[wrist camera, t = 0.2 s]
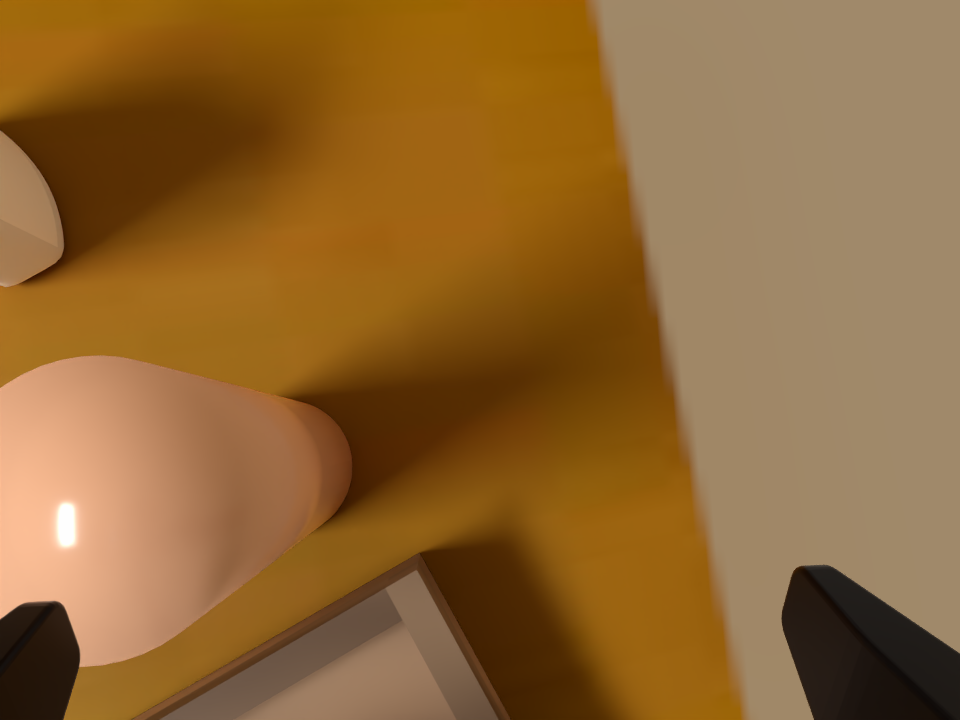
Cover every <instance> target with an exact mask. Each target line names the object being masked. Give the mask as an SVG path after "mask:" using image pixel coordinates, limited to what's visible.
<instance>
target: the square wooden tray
mask: <svg viewBox="0 0 960 720" xmlns="http://www.w3.org/2000/svg"><path fill="white" fill-rule="evenodd" d="M132 720H511V719H510V717H509V715H508V714H507V712H506V710H505V708H504V706H503V704H502V703H501V701H500V699H499V697H498V695H497V693H496V692H495V690H494V688H493V686H492V684H491V682H490V681H489V679H488V677H487V675H486V673H485V671H484V670H483V668H482V666H481V664H480V662H479V660H478V659H477V657H476V655H475V653H474V651H473V649H472V648H471V646H470V644H469V642H468V640H467V639H466V637H465V635H464V633H463V631H462V629H461V628H460V626H459V624H458V622H457V620H456V618H455V617H454V615H453V613H452V611H451V609H450V607H449V606H448V604H447V602H446V600H445V598H444V596H443V595H442V593H441V591H440V589H439V587H438V585H437V584H436V582H435V580H434V578H433V576H432V574H431V573H430V571H429V569H428V567H427V565H426V563H425V562H424V560H423V558H422V556H421V554H420V553H418V554H417V555H415V556H413V557H411V558H410V559H408V560H406V561H404V562H403V563H401V564H399V565H398V566H396V567H394V568H392V569H391V570H389V571H387V572H385V573H384V574H382V575H380V576H379V577H377V578H375V579H373V580H372V581H370V582H368V583H366V584H365V585H363V586H361V587H360V588H358V589H356V590H354V591H353V592H351V593H349V594H348V595H346V596H344V597H342V598H341V599H339V600H337V601H335V602H334V603H332V604H330V605H329V606H327V607H325V608H323V609H322V610H320V611H318V612H316V613H315V614H313V615H311V616H310V617H308V618H306V619H304V620H303V621H301V622H299V623H298V624H296V625H294V626H292V627H291V628H289V629H287V630H285V631H284V632H282V633H280V634H279V635H277V636H275V637H273V638H272V639H270V640H268V641H266V642H265V643H263V644H261V645H260V646H258V647H256V648H254V649H253V650H251V651H249V652H247V653H246V654H244V655H242V656H241V657H239V658H237V659H235V660H234V661H232V662H230V663H229V664H227V665H225V666H223V667H222V668H220V669H218V670H216V671H215V672H213V673H211V674H210V675H208V676H206V677H204V678H203V679H201V680H199V681H197V682H196V683H194V684H192V685H191V686H189V687H187V688H185V689H184V690H182V691H180V692H179V693H177V694H175V695H173V696H172V697H170V698H168V699H166V700H165V701H163V702H161V703H160V704H158V705H156V706H154V707H153V708H151V709H149V710H147V711H146V712H144V713H142V714H141V715H139V716H137V717H135V718H134V719H132Z"/></svg>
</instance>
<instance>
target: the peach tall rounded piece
mask: <svg viewBox="0 0 960 720" xmlns="http://www.w3.org/2000/svg"><path fill="white" fill-rule="evenodd" d="M352 469H353V467H352V455H351V450H350V447H349V444H348V441H347V439H346V437H345V435H344V433H343V432H342V430H341V428H340V427H339V426H338V424H337V423H336V422H335V421H334V420H333V419H332V418H331V417H330V416H329V415H328V414H326V413H325V412H323V411H322V410H320V409H318V408H317V407H315V406H313V405H310V404H307V403H304V402H300V401H296V400H292V399H288V398H284V397H280V396H277V395H273V394H269V393H265V392H261V391H257V390H253V389H249V388H245V387H241V386H237V385H233V384H229V383H225V382H221V381H217V380H213V379H209V378H205V377H201V376H197V375H193V374H189V373H185V372H181V371H177V370H173V369H169V368H165V367H161V366H157V365H153V364H149V363H145V362H141V361H137V360H132V359H127V358H123V357H112V356H83V357H76V358H70V359H64V360H60V361H56V362H53V363H50V364H47V365H43V366H40V367H38V368H36V369H34V370H31V371H29V372H27V373H25V374H23V375H21V376H19V377H18V378H16V379H14V380H12V381H11V382H9V383H7V384H6V385H4V386H3V387H2V388H0V619H1V618H2V617H4V616H5V615H6V614H8V613H9V612H10V611H12V610H13V609H14V608H16V607H17V606H19V605H21V604H23V603H26V602H37V601H58V602H60V603H61V604H63V605H64V607H65V609H66V611H67V614H68V617H69V620H70V622H71V625H72V628H73V631H74V633H75V636H76V639H77V642H78V644H79V648H80V665H79V667H84V666H97V665H105V664H110V663H115V662H120V661H124V660H127V659H130V658H133V657H136V656H139V655H141V654H144V653H146V652H148V651H150V650H152V649H154V648H156V647H158V646H160V645H162V644H164V643H165V642H167V641H168V640H170V639H171V638H173V637H174V636H176V635H177V634H179V633H180V632H182V631H183V630H184V629H186V628H187V627H188V626H190V625H191V624H192V623H194V622H195V621H196V620H198V619H199V618H200V617H201V616H203V615H204V614H205V613H207V612H208V611H209V610H211V609H212V608H213V607H215V606H216V605H217V604H219V603H220V602H221V601H223V600H224V599H225V598H227V597H228V596H229V595H230V594H232V593H233V592H234V591H236V590H237V589H238V588H240V587H241V586H242V585H244V584H245V583H246V582H248V581H249V580H250V579H252V578H253V577H254V576H255V575H257V574H258V573H259V572H261V571H262V570H263V569H265V568H266V567H267V566H269V565H270V564H271V563H273V562H274V561H275V560H277V559H278V558H279V557H281V556H282V555H283V554H284V553H286V552H287V551H288V550H290V549H291V548H292V547H294V546H295V545H296V544H298V543H299V542H300V541H302V540H303V539H304V538H306V537H307V536H308V535H310V534H311V533H312V532H313V531H315V530H316V529H317V528H319V527H320V526H321V525H323V524H324V523H325V522H326V521H328V520H329V519H330V518H331V517H332V516H333V515H334V514H335V513H336V511H337V510H338V509H339V507H340V506H341V504H342V503H343V501H344V499H345V497H346V495H347V493H348V490H349V487H350V483H351V479H352Z"/></svg>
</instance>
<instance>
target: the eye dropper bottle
mask: <svg viewBox="0 0 960 720" xmlns="http://www.w3.org/2000/svg"><path fill="white" fill-rule="evenodd" d="M63 250H64V237H63V230H62V224H61V219H60V216H59V212H58V209H57V206H56V202H55V200H54V197H53V195H52V193H51V191H50V188H49V186H48V185H47V183H46V181H45V179H44V177H43V176H42V174H41V173H40V171H39V170H38V168H37V167H36V166H35V164H34V163H33V162H32V161H31V159H30V158H29V157H28V156H27V155H26V154H25V153H24V152H23V150H22V149H21V148H20V147H19V146H18V145H16V144H15V143H14V142H13V141H12V140H11V139H10V138H9V137H8V136H6V135H5V134H4V133H3V132H2V131H0V285H1V286H5V287H9V286H13V285H17V284H19V283H21V282H23V281H25V280H27V279H29V278H30V277H32V276H34V275H36V274H38V273H39V272H41V271H43V270H45V269H46V268H48V267H50V266H51V265H53V264H55V263H56V262H57V261H58V260H59V259H60V258H61V256H62V253H63Z"/></svg>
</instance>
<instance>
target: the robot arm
mask: <svg viewBox="0 0 960 720" xmlns="http://www.w3.org/2000/svg"><path fill="white" fill-rule="evenodd" d="M782 626H783V631H784V634H785V637H786V640H787V643H788V646H789V649H790V651H791V654H792V657H793V660H794V663H795V666H796V669H797V671H798V675H799V678H800V680H801V683H802V686H803V689H804V692H805V694H806V698H807V700H808V703H809V706H810V709H811V712H812V715H813V718H814V720H960V653H958V652H957V651H955V650H954V649H953V648H951V647H950V646H948V645H947V644H945V643H944V642H942V641H940V640H939V639H938V638H936V637H935V636H933V635H932V634H930V633H929V632H928V631H926V630H925V629H923V628H922V627H920V626H919V625H917V624H916V623H914V622H913V621H911V620H910V619H908V618H907V617H906V616H904V615H903V614H901V613H900V612H898V611H897V610H895V609H894V608H892V607H891V606H889V605H888V604H886V603H885V602H883V601H882V600H881V599H879V598H878V597H876V596H875V595H873V594H872V593H870V592H868V591H867V590H866V589H864V588H863V587H861V586H860V585H858V584H857V583H855V582H854V581H853V580H851V579H850V578H848V577H847V576H845V575H844V574H842V573H841V572H839V571H838V570H836V569H835V568H833V567H831V566H828V565H811V566H800V567H797V568H796V569H795V570H794V571H793V574H792V577H791V580H790V584H789V588H788V591H787V595H786V599H785V602H784V606H783V610H782ZM79 665H80V648H79V644H78V642H77V639H76V636H75V633H74V631H73V628H72V625H71V622H70V620H69V617H68V614H67V611H66V609H65V607H64V605H63V604H61V603H60V602H58V601H37V602H26V603H23V604H21V605H19V606H17V607H16V608H14V609H13V610H12V611H10V612H9V613H8V614H6V615H5V616H4V617H2V618H1V619H0V720H63V719H64V716H65V712H66V709H67V706H68V702H69V699H70V696H71V693H72V689H73V686H74V683H75V679H76V676H77V673H78V669H79Z"/></svg>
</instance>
